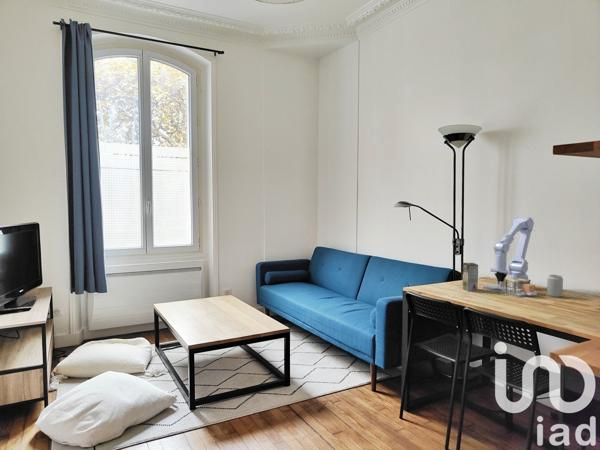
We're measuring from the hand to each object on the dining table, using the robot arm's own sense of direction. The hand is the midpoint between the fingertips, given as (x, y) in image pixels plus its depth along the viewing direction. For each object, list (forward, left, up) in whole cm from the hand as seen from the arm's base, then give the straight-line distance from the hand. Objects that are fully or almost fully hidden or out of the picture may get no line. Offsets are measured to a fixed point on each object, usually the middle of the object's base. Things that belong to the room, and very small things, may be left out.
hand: (500, 284), depth 259 cm
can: (-14, +25, -3) cm, 29 cm away
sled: (0, +12, -2) cm, 12 cm away
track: (0, +7, -3) cm, 7 cm away
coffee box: (+18, -6, -3) cm, 19 cm away
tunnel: (0, +12, -2) cm, 12 cm away
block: (0, +20, -1) cm, 20 cm away
